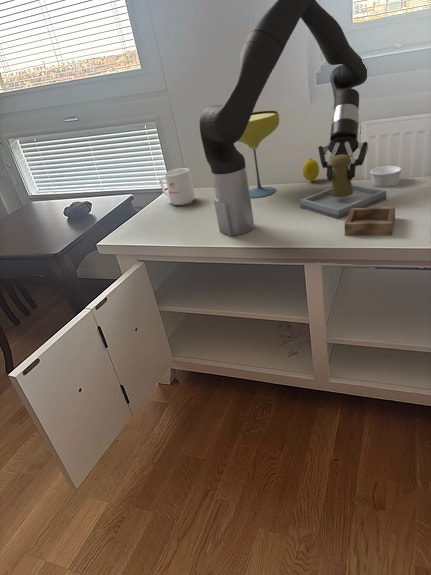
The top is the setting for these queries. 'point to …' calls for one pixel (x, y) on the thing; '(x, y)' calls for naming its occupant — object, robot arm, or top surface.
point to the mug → (178, 186)
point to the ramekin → (385, 176)
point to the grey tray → (342, 201)
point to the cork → (341, 176)
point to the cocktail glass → (253, 135)
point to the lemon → (310, 169)
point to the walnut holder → (370, 227)
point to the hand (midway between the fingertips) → (340, 178)
